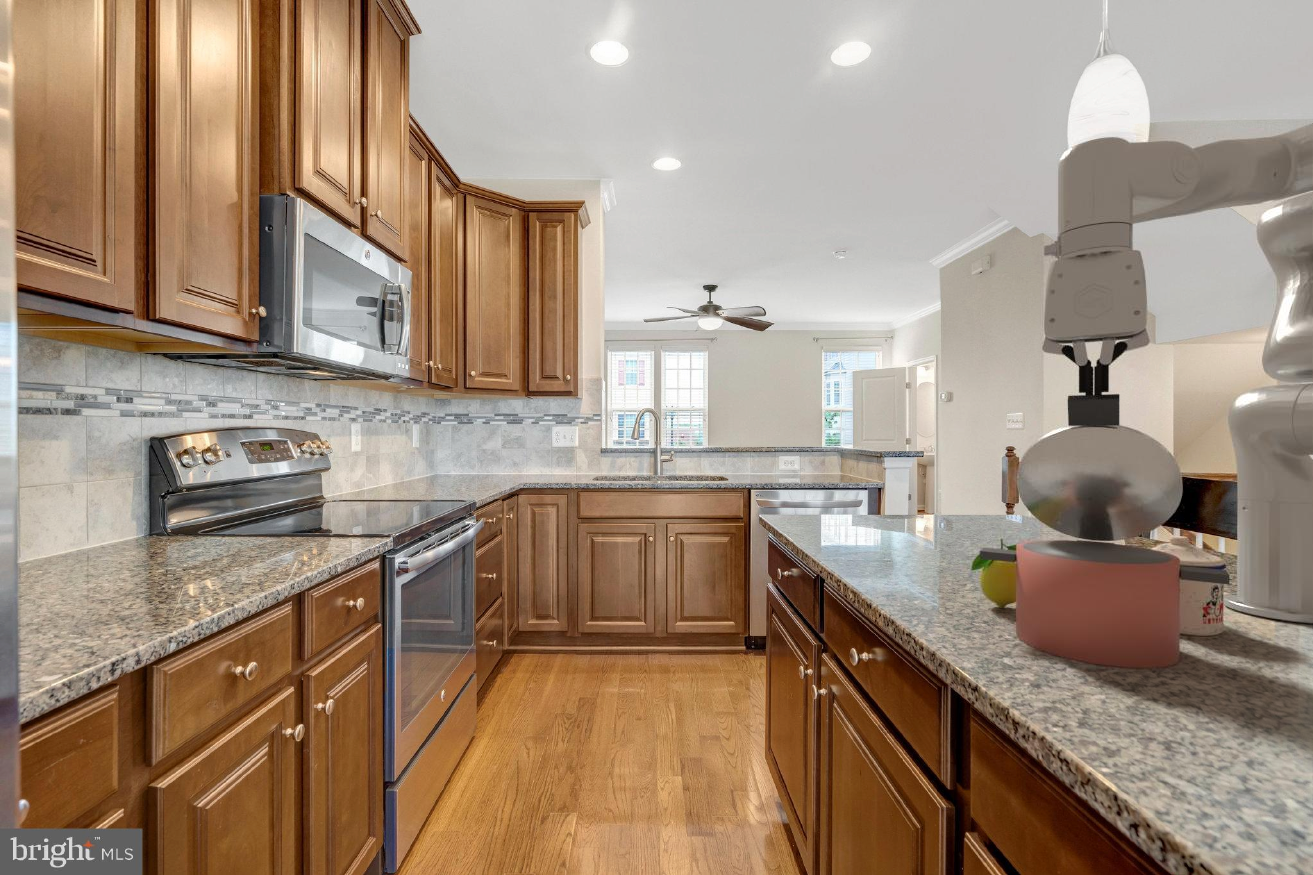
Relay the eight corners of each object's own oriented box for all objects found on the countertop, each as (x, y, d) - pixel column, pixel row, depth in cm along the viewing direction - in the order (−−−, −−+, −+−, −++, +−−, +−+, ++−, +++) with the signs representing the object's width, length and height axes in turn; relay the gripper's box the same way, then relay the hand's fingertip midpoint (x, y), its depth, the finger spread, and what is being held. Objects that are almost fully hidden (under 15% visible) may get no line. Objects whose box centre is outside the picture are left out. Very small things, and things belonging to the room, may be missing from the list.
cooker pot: (992, 609, 90) (992, 532, 90) (1217, 642, 76) (1217, 550, 76) (970, 641, 77) (970, 550, 76) (1238, 688, 62) (1238, 576, 62)
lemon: (1036, 609, 91) (1036, 539, 91) (1020, 616, 87) (1020, 544, 87) (987, 599, 96) (987, 533, 96) (969, 606, 92) (970, 537, 92)
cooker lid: (1020, 534, 88) (1022, 525, 89) (1179, 547, 78) (1178, 536, 79) (1010, 401, 79) (1012, 393, 81) (1187, 397, 69) (1186, 387, 71)
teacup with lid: (1224, 642, 76) (1224, 545, 76) (1130, 626, 82) (1130, 537, 82) (1228, 620, 85) (1228, 533, 85) (1143, 607, 91) (1143, 526, 91)
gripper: (1019, 251, 78) (1019, 399, 79) (1175, 228, 70) (1175, 395, 70) (1027, 264, 85) (1026, 402, 85) (1171, 244, 76) (1170, 398, 76)
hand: (1093, 398), depth 77 cm, fingers closed
